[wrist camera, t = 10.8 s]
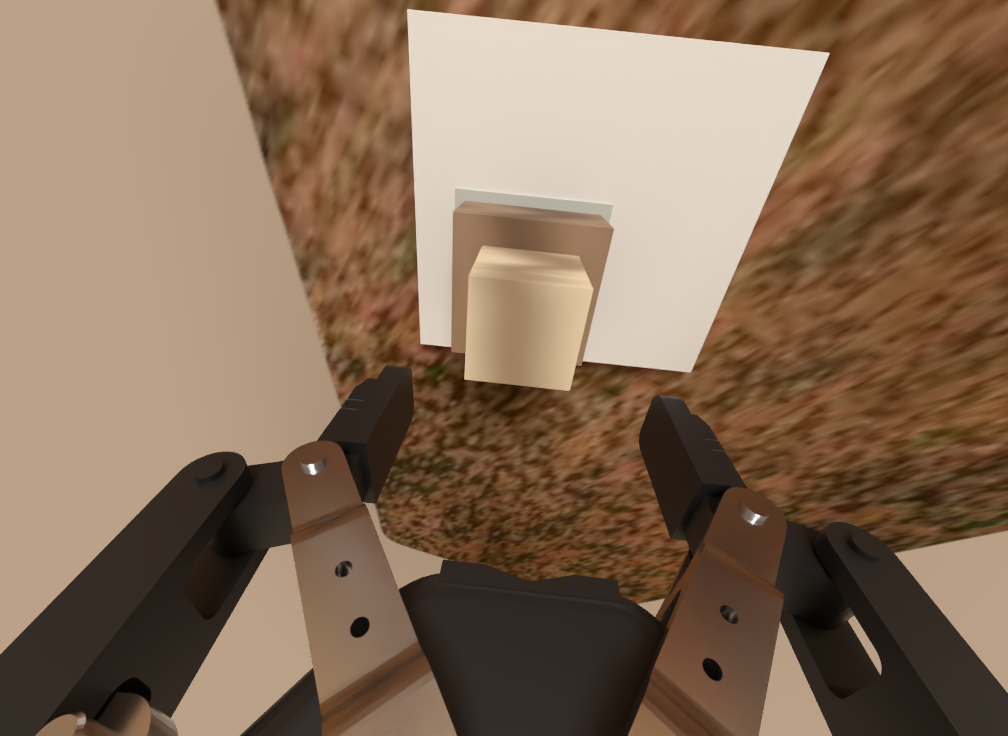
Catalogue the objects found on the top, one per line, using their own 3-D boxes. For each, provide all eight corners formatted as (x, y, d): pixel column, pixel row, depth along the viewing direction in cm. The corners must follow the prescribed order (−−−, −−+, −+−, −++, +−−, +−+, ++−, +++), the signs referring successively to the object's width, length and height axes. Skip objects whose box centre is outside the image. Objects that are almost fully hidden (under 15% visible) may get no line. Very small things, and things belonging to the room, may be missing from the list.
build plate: (815, 57, 18) (831, 52, 17) (685, 365, 27) (691, 373, 26) (413, 15, 18) (406, 8, 17) (424, 337, 27) (420, 344, 27)
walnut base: (600, 214, 21) (614, 228, 18) (574, 336, 25) (581, 366, 22) (465, 200, 21) (452, 211, 18) (461, 324, 25) (451, 351, 22)
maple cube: (578, 255, 19) (593, 289, 14) (561, 341, 21) (569, 390, 17) (482, 245, 19) (468, 275, 14) (477, 332, 21) (464, 379, 17)
